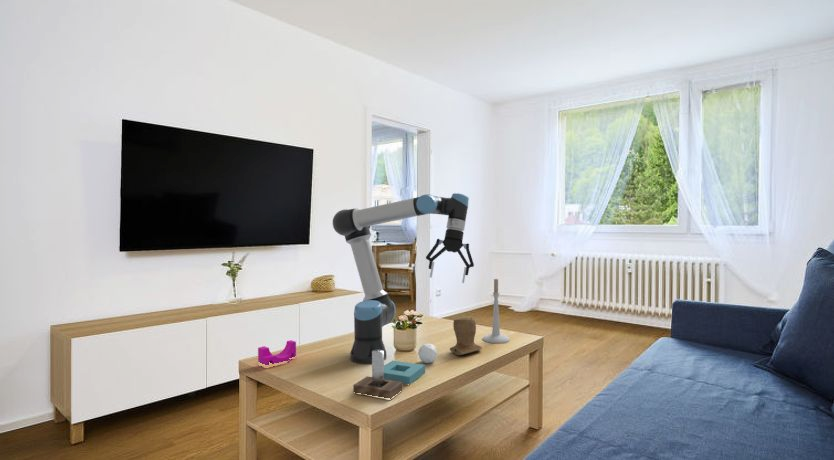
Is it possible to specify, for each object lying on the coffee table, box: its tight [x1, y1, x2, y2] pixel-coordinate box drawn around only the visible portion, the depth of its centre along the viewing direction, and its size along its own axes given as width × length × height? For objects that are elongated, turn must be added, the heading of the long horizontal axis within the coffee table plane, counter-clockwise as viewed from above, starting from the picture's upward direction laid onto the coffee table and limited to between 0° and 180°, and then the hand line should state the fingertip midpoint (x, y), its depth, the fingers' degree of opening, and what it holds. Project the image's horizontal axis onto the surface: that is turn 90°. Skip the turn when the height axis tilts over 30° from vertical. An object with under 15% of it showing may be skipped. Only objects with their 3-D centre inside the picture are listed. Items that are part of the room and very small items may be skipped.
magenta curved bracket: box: [257, 339, 297, 365], centre depth 183 cm, size 15×6×8 cm, turn 137°
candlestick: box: [482, 278, 510, 344], centre depth 217 cm, size 13×13×30 cm
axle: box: [371, 349, 385, 387], centre depth 151 cm, size 4×4×14 cm
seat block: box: [384, 360, 426, 386], centre depth 167 cm, size 14×14×3 cm
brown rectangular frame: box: [352, 375, 404, 399], centre depth 152 cm, size 14×9×3 cm, turn 66°
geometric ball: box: [417, 343, 438, 364], centre depth 183 cm, size 8×8×8 cm
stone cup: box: [449, 317, 483, 356], centre depth 198 cm, size 15×12×15 cm
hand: (446, 280), depth 186 cm, fingers open, 13 cm apart
